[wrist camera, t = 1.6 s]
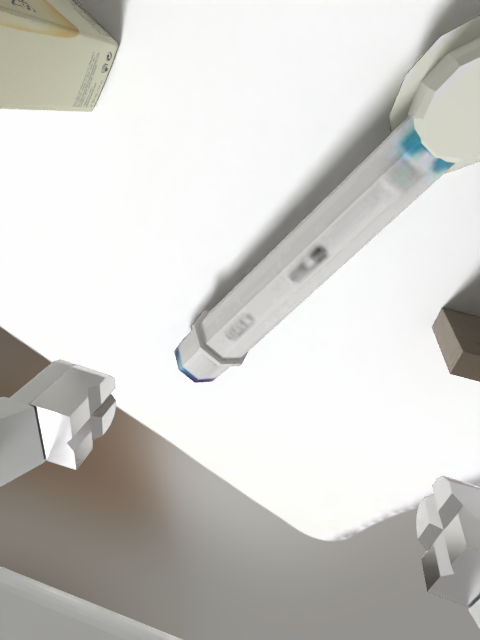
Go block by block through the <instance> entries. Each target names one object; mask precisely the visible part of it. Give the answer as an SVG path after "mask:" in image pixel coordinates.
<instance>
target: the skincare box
mask: <svg viewBox="0 0 480 640" xmlns="http://www.w3.org/2000/svg"><path fill="white" fill-rule="evenodd" d="M117 48H118V44H117V42H116V41H115V40H114V39H113V38H112V37H111V36H110V35H109V34H108V33H107V32H106V31H105V30H104V29H103V28H102V27H101V26H100V25H98V24H97V23H96V22H95V21H94V20H93V19H92V18H91V17H90V16H89V15H88V14H87V13H85V12H84V11H83V10H82V9H81V8H80V7H79V6H78V5H77V4H75V3H74V2H73V1H72V0H0V109H22V110H55V111H85V112H91V111H92V110H93V108H94V106H95V104H96V101H97V99H98V97H99V94H100V92H101V90H102V88H103V85H104V83H105V80H106V78H107V75H108V73H109V70H110V67H111V65H112V62H113V59H114V57H115V54H116V51H117Z"/></svg>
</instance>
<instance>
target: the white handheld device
mask: <svg viewBox="0 0 480 640" xmlns="http://www.w3.org/2000/svg"><path fill="white" fill-rule="evenodd" d="M390 127H391V134H390V135H389V136H388V137H387V138H386V139H385V140H384V141H383V142H382V143H381V144H380V145H379V146H378V147H377V148H376V149H375V150H374V151H373V152H372V153H371V154H370V155H369V156H367V157H366V158H365V159H364V160H363V161H362V162H361V163H360V164H359V165H358V166H357V167H356V168H355V169H354V170H353V171H352V172H351V173H350V174H349V175H348V176H347V177H346V178H345V179H344V180H343V181H342V182H341V183H340V184H339V185H338V186H337V187H336V188H335V189H334V190H333V191H332V192H331V193H330V194H329V195H328V196H327V197H326V198H325V199H324V200H323V201H322V202H321V203H320V204H319V205H318V206H317V207H316V208H315V209H314V210H313V211H312V212H311V213H310V214H308V215H307V216H306V217H305V218H304V219H303V220H302V221H301V222H300V223H299V224H298V225H297V226H296V227H295V228H294V229H293V230H292V231H291V232H290V233H289V234H288V235H287V236H286V237H285V238H284V239H283V240H282V241H281V242H280V243H279V244H278V245H277V246H276V247H275V248H274V249H273V250H272V251H271V252H270V253H269V254H268V255H267V256H266V257H265V258H264V259H263V260H262V261H261V262H260V263H259V264H258V265H257V266H256V267H255V268H254V269H253V270H252V271H250V272H249V273H248V274H247V275H246V276H245V277H244V278H243V279H242V280H241V281H240V282H239V283H238V284H237V285H236V286H235V287H234V288H233V289H232V290H231V291H230V292H229V293H228V294H227V295H226V296H225V297H224V298H223V299H222V300H221V301H220V302H219V303H218V304H217V305H216V306H215V307H214V308H213V309H212V310H204V311H203V312H202V313H201V315H200V316H199V317H198V319H197V320H196V321H195V323H194V324H193V325H192V331H191V332H190V333H189V334H188V335H187V336H186V337H185V338H184V339H183V340H182V342H181V343H180V344H179V346H178V347H177V348H176V350H175V351H174V352H175V356H176V360H177V364H178V368H179V370H180V371H181V372H183V373H184V374H185V375H186V376H188V377H189V378H190V379H191V380H192V381H194V382H212V381H213V380H214V379H216V378H217V377H218V376H219V375H220V374H222V373H223V372H224V371H225V370H227V369H228V368H229V367H230V366H240V365H241V364H242V362H243V360H244V358H245V356H246V355H247V353H248V351H249V350H250V349H251V348H252V347H253V346H254V345H255V344H257V343H258V342H259V341H260V340H261V339H262V338H263V337H264V336H265V335H266V334H268V333H269V332H270V331H271V330H272V329H273V328H274V327H275V326H276V325H278V324H279V323H280V322H281V321H282V320H283V319H284V318H285V317H286V316H287V315H289V314H290V313H291V312H292V311H293V310H294V309H295V308H296V307H297V306H299V305H300V304H301V303H302V302H303V301H304V300H305V299H306V298H307V297H308V296H310V295H311V294H312V293H313V292H314V291H315V290H316V289H317V288H318V287H319V286H321V285H322V284H323V283H324V282H325V281H326V280H327V279H328V278H329V277H331V276H332V275H333V274H334V273H335V272H336V271H337V270H338V269H339V268H340V267H342V266H343V265H344V264H345V263H346V262H347V261H348V260H349V259H350V258H351V257H353V256H354V255H355V254H356V253H357V252H358V251H359V250H360V249H361V248H363V247H364V246H365V245H366V244H367V243H368V242H369V241H370V240H371V239H372V238H374V237H375V236H376V235H377V234H378V233H379V232H380V231H381V230H382V229H383V228H385V227H386V226H387V225H388V224H389V223H390V222H391V221H392V220H393V219H395V218H396V217H397V216H398V215H399V214H400V213H401V212H402V211H403V210H404V209H406V208H407V207H408V206H409V205H410V204H411V203H412V202H413V201H414V200H416V199H417V198H418V197H419V196H420V195H421V194H422V193H423V192H424V191H425V190H427V189H428V188H429V187H430V186H431V185H432V184H433V183H434V182H435V181H436V180H438V179H439V178H440V177H441V176H442V175H443V174H446V173H449V172H451V171H454V170H457V169H460V168H463V167H465V166H468V165H471V164H474V163H477V162H479V161H480V16H478V17H476V18H474V19H472V20H470V21H468V22H466V23H465V24H463V25H461V26H459V27H457V28H455V29H453V30H451V31H450V32H448V33H446V34H444V35H442V36H440V37H439V38H438V39H437V40H436V41H435V43H434V44H433V45H432V46H431V47H430V48H429V49H428V50H427V51H426V53H425V54H424V55H423V56H422V57H421V58H420V59H419V60H418V62H417V63H416V64H415V65H414V66H413V67H412V68H411V69H410V70H409V72H408V73H407V74H406V75H405V78H404V80H403V83H402V85H401V88H400V90H399V93H398V95H397V98H396V100H395V103H394V105H393V108H392V110H391V113H390Z"/></svg>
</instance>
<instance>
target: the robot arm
mask: <svg viewBox="0 0 480 640" xmlns="http://www.w3.org/2000/svg"><path fill="white" fill-rule="evenodd" d="M114 389H115V379H114V378H113V377H112V376H110V375H107V374H104V373H101V372H98V371H95V370H92V369H89V368H86V367H83V366H80V365H76V364H73V363H70V362H67V361H64V360H61V359H60V360H57V361H54V362H52V363H51V364H50V365H49V366H48V367H46V368H45V369H44V370H43V371H42V372H40V373H39V374H38V375H37V376H36V377H34V378H33V379H32V380H31V381H30V382H28V383H27V384H26V385H25V386H23V387H22V388H21V389H20V390H19V391H17V392H16V393H15V394H14V395H12V396H11V397H10V398H6V397H1V398H0V487H1V486H3V485H4V484H6V483H8V482H10V481H12V480H13V479H15V478H17V477H19V476H20V475H22V474H24V473H26V472H28V471H29V470H31V469H33V468H35V467H36V466H38V465H40V464H42V463H44V462H45V461H44V460H47V461H50V462H53V463H56V464H59V465H62V466H66V467H69V468H72V469H75V470H77V468H78V467H79V466H80V464H81V463H82V462H83V460H84V459H85V458H86V457H87V455H88V454H89V453H90V452H91V450H92V449H93V446H92V440H94V439H96V438H98V437H100V436H102V435H104V433H105V432H106V430H107V429H108V428H109V426H110V424H111V422H112V420H113V417H114V414H115V409H116V400H115V399H114V397H113V396H112V395H111V392H112V391H113V390H114ZM432 486H433V490H434V494H432V495H429V496H426V497H424V499H423V500H422V502H421V503H420V505H419V508H418V512H417V517H416V529H417V536H418V540H419V541H420V542H421V544H422V545H423V547H424V548H425V549H426V551H427V552H426V553H425V555H424V556H423V558H422V566H423V572H424V577H425V583H426V588H427V592H429V593H432V594H434V595H437V596H439V597H442V598H445V599H447V600H450V601H453V602H455V603H458V604H461V605H464V606H466V607H469V611H470V613H471V615H472V617H473V618H474V620H475V621H476V623H477V625H478V626H479V628H480V487H479V486H476V485H472V484H469V483H465V482H462V481H459V480H455V479H452V478H448V477H445V476H441V477H439V478H437V480H436V481H435V482H434V484H433V485H432ZM0 640H182V639H180V638H177V637H175V636H172V635H170V634H167V633H165V632H162V631H160V630H157V629H155V628H152V627H150V626H147V625H145V624H142V623H140V622H138V621H135V620H132V619H130V618H127V617H125V616H122V615H120V614H118V613H115V612H113V611H110V610H107V609H105V608H103V607H100V606H98V605H95V604H93V603H90V602H88V601H85V600H83V599H80V598H78V597H75V596H73V595H70V594H68V593H65V592H63V591H60V590H58V589H55V588H53V587H51V586H48V585H46V584H43V583H41V582H38V581H36V580H33V579H31V578H28V577H26V576H23V575H21V574H18V573H15V572H13V571H11V570H8V569H6V568H3V567H1V566H0Z"/></svg>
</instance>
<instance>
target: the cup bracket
mask: <svg viewBox="0 0 480 640" xmlns="http://www.w3.org/2000/svg"><path fill="white" fill-rule="evenodd" d="M432 329H433V331H434V334H435V336H436V339H437V342H438V344H439V347H440V349H441V352H442V354H443V357H444V359H445V362H446V365H447V367H448V370H449V372H450V374H453V375H457V376H461V377H464V378H468V379H472V380H476V381H479V382H480V317H478V316H473V315H469V314H465V313H461V312H457V311H453V310H448V309H444V308H442V309H441V311H440V313H439V315H438V317H437V319H436V321H435V323H434V325H433V327H432Z"/></svg>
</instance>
